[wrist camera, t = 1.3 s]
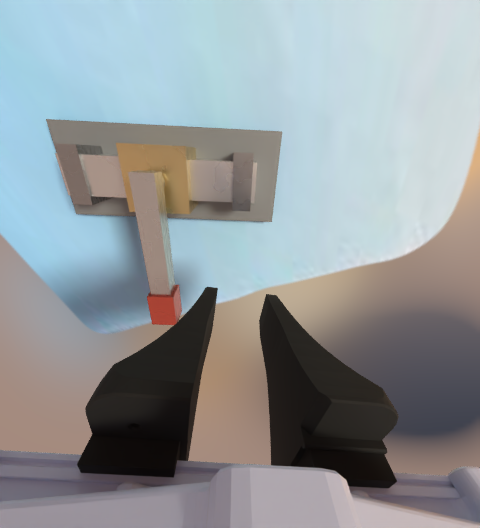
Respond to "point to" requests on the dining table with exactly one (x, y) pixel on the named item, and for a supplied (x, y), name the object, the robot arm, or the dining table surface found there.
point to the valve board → (207, 147)
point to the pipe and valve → (159, 159)
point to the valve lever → (156, 245)
